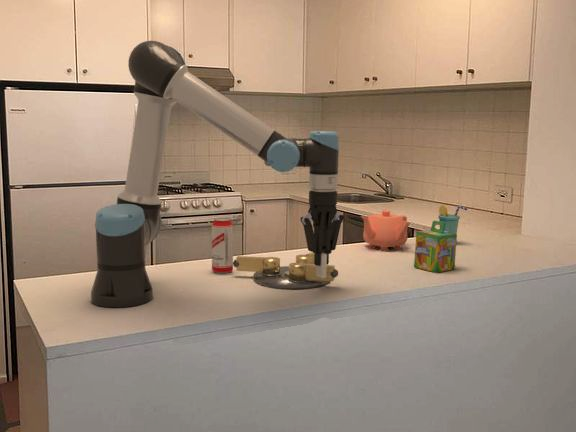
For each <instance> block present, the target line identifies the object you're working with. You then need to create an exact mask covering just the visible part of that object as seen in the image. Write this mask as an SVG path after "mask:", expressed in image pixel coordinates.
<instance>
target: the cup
mask: <svg viewBox="0 0 576 432" xmlns="http://www.w3.org/2000/svg"><path fill="white" fill-rule="evenodd" d="M460 209H462V210H464V211H468V208H467V207H464V206H462V205H459V206H457V207H456V210H455V212H454V214H452V213H451V214H450V213H448V208H447V206H446V205H444V204H441V206H439V208H438V213H439V215H437V216H438V219H439V221H440V222H445V227H444V231H448V232H453V233H456V234H457V235H458V227H459V220H460V218H461V216H460V215H458V213H459V211H460ZM440 228H441V226H440V225H439V229H440Z"/></svg>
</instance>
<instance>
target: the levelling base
mask: <svg viewBox="0 0 576 432" xmlns="http://www.w3.org/2000/svg"><path fill="white" fill-rule="evenodd" d="M253 282H254V283H256V284H257V285H259V286H262V287H267V288H271V289H276V290H290V291H292V290H297V291H298V290H311V289H315V288H320V287H323V286H326V285H328V284H330V282H331V281H322V280H309V279H307V280H304V281H293V280H290V279H289V266H288V265H286V266H285V265H284V266H280V273H279V274H274V275H268V274H264V273H262V272H253Z"/></svg>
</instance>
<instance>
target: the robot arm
mask: <svg viewBox="0 0 576 432" xmlns="http://www.w3.org/2000/svg"><path fill="white" fill-rule="evenodd" d="M127 62H128V71H129V73H130V76H131V77H132V79H133V80H134V88H133V94H134V96H135V97H136V98H137V101H138V102H137V108H136V113H135V121H134V127H133V133H132V134H133V135H132V141H131V148H130V153H129V159H128V165H127V166H128V167H127V172H126V179H125V185H124V187H125V188H124V190H122V191H121V192H120V193H118V195H117V200H116V203H115V204H111V205H107V206H103V207H101V208H100V209H98V210H97V212H96V213H95V223H94V228H95V240H96V241H95V242H96V244H95V245H96V262H97V263H96V265H97V266H96V267H97V268H96V269H97V272H96V274H95V276H94V277H95V278H94V281H93V286H92V288H91V292H90V301H91V303H92V304H94V305H96V306H99V307H104V308H105V307H106V308H127V307H135V306H139V305H144V304H147V303H149V302H151V301H152V300H153V298H154V291H153V286H152V283H151V281H150V277H149V275H148V272H147V269H146V246H147V245H149V244H151V243H152V242H153V241H155V239H156V238H157V237H158V235H159V233H160V231H161V228H162V223H163V222H162V217H161V210H162V209H161V208H162V200H161V198H159V196H158V192H159V185H160V180H161V172H162V166H163V161H164V160H163V159H164V154H165V149H166V143H167V138H168V137H167V136H168V131H169V123H170V118H171V113H172V111H171V110H172V108H173V106H174V105H176V104H179V105H181V106H182V107H183V108H185V109H187V110H188V111H190V112H191V113H193V114H194V115H196V116H197V117H199V118H200V119H202V120H204V121H205V122H206V123H208V124H209V125H210V126H212V127H213V128H215V129H217V130H218V131H220V132H221V133H222V134H224V135H226V136H227V137H228V138H230V139H232V140H233V141H234V142H236V143H238V144H239V145H241V146H242V147H243V148H245V149H246V150H248V151H250V152H251V153H252V154H254V155H255V156H257V157H258V158H259V159H261V160H263V161H264V165H265V166H266V167H270V168H271V169H273V170H274V171H276V172H278V173H286V172H291V171H292V170H294V168H309V172H308V173H309V174H308V175H309V176H308V179H309V180H308V188H309V189H310V190H309V191H308V203H309V208H308V211H307V214H306V215H305V216H301V217H300V222H301V223H302V226H303V230H304V236H305V240H306V241H305V242H306V246H307V250H308V251H309V252H310V253H312V252H314V264H315V265H316V276H317V277H320V278H326V270H327V265H329V263H330V260H329V259H330V254H332V251H335V250H336V247H337V243H338V240H339V235H340V231H341V230H340V229H341V226H342V222H343V221H344V218H345V215H344V214H341V213H339V212H338V209H337V204H338V191H337V189H338V186H339V185H338V183H339V182H338V180H339V179H338V177H339V175H338V174H339V150H340V147H339V146H340V145H339V134H338V132H336V131H332V130H330V131H329V130H319V131H318V130H312V131H310V134H309V137H307V138H296V137H295V138H292V137H291V138H290V137H285V136H284V135H282V134H281V133H279V132H278V131H276V130H275V129H273V128H272V127H270V126H269V125H268V124H266V123H264V121H262V120H260V119H258V118H257V117H256V116H254V115H252V114H251V113H250V112H248V111H247V110H246V109H244V108H243V107H241V106H239V105H238V104H237V103H235V102H233V101H232V100H231V99H229V98H228V97H227V96H225V95H223V94H222V93H220V92H219V91H217V89H215V88H213V87H211V86H210V85H209V84H207V83H206V82H204V81H203V80H201V79H200V78H198V77H197V76H195V75H194V74H192V73H191V72H189V69H188V65H187V64H186V62H185V60H184V57H183V56H182V55H181V53H180V52H179V51H178V50H177V49H175V48H174V47H172V46H169V45H166V44H165V43H163V42H161V41H157V40H144V41H142V42H140V43H139V44H137V45H136V46H135V47H134V48H133V49H132V50H131V52H130V54H129V56H128V61H127Z"/></svg>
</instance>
